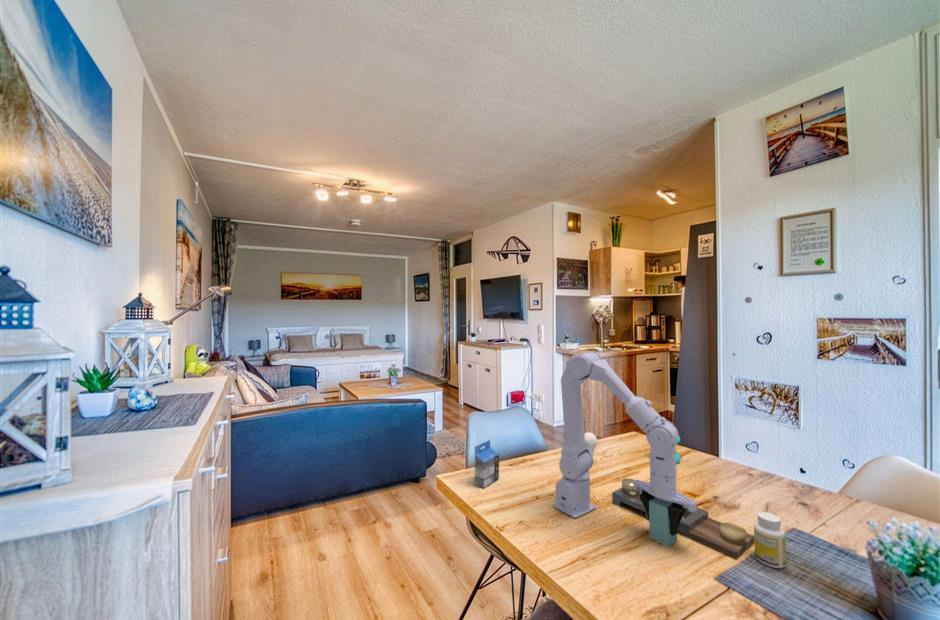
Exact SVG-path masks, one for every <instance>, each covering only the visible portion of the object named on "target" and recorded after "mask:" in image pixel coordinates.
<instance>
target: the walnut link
mask: <svg viewBox="0 0 940 620" xmlns="http://www.w3.org/2000/svg"><path fill="white" fill-rule="evenodd" d="M689 515H691V514H689V513H686V512H685V513H684V515H683V517H682V518H684V519H685V518H686V517H688V516H689ZM645 519H647V520H648V516H647V513H646V512H645ZM677 534H679V535H682V536H683V537H686V538H688V539H691V540H693V541H695V542H697V543H699V544H702V545H703V546H705V547H708V548H710V549H713V550H714V551H717V552H719V553H721V554H723V555H724V556H725V555H726V556H727V557H730V558H732V559H734V560H738V559H739V558H740V557H741V556H742V555H744V553H745V552H747V550H748V549H750V547H751V546H752V545H753V544H754V535H753V534H751V533H748V532H747V531H746V529H745V528H743V527H742V526H740V525H738V524H735V523H732V522H721V521H718V520H715V519H714V518H711V517H708V518H707V519H706V520H704V521H703V522H702V523H700V524H699V525H697V526H696V527H695V528H693V529H692V530H691V531H689V532H688V531H686V530H684V529H682V528H680V527H679V528H678V532H677Z"/></svg>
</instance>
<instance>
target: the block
mask: <svg viewBox="0 0 940 620" xmlns="http://www.w3.org/2000/svg"><path fill="white" fill-rule="evenodd" d="M670 505H672V503H671V502H669V501H666V500H663V499H659V498H657V497H655V498H653V499H651V500H650V501H649V520H648V523H649V524H648V525H649V526H648V531H649V532H648V535H649V536H648V537H649V539H651V540H654V541H655V542H658V543H659V544H662V545H664V546H666V547H667V548H668V547H670V546H672V545H673V544H674V543H675V542H677V541H678V533H677V534H675V535H674V536H673V535H671V534H670V518H669V513H668V509H667V507H668V506H670Z"/></svg>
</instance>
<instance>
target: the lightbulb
mask: <svg viewBox="0 0 940 620" xmlns="http://www.w3.org/2000/svg"><path fill="white" fill-rule="evenodd" d="M584 436H585V441H586V442H587V443H588V445H589V450H590V453H591V455H592V457H593V456H594V452H595V449H596V447H597V445H598V443H599V442H598V438H597V436H596V435H595V434H594V433H593V432H589V431H587V432H584ZM593 458H594V457H593Z"/></svg>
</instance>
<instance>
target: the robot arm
mask: <svg viewBox="0 0 940 620" xmlns="http://www.w3.org/2000/svg"><path fill="white" fill-rule="evenodd" d="M588 379H589V380H592V381H598V382H601V383H603V384H604V385H605V386H606V388H608V389H609V390H610V391H611V392H612V393H613V394H614V395H615V396H616V397H617V398H618V399H619V400H620V401H621V403H623V404H624V408H625V413H626V414H627V415H628V416H629V417H630V418H631V420H632V421H633V422H634V423H635V424H636V425H637V426H638V428H640V430H641V431H642V432H643V433H645V434H646V437H645V438H646V441H647V443H648V444H649V447H650V449H649V466H650V467H649V482H647V481H644V480H640V479H638V478H637V479H634V480H635V481H633V489H635V490H638V489H639V490H641V491H642V494H641V495H639V497H640V500H641V502H642V503H643V505H644V507H645V510H646V512H645V514H646V513H647V516H648V519H647V520H648V521H649V501H650V500H651V499H653V498H655V497H657V498H659V499H663V500H666V501H669V502H671V503H672V505H670V506H668V507H667V509H668V513H669V518H670V534H671V535H673V536H674V535H675V534H677V535H678V533H677V532H678V528H679V524H680V521H681V519H682V518H684V517H683V515H684V513H685V512H686V510H687V509H688V511H690V512H692V513H693V512H695V511H696V510H697V508H698V506H697V505H698V504H697V503H698V502H697V501H696V500H693V499H691V498H689V497H687V496H685V495H684V494H682V493H681V492H679V491H677V463H676V452H677V450H676V449H677V448H676V447H677V446H676V445H677V444H675V445H673V444H674V443H675V442H676V441H677V439H678V435H679V431H678V428H677V427H676V426H675V424H674V423H673V422H671V421H669V420H667V419H666V417H664V416H661V415H660V413H659V412H658V411H656V410H655V408H653V407H652V406H651V405H652V404H653V403H652V402H651V401H650V400H649V399H645V398H643V397H640V396H636V395H635V394H634V393H633V392H632V391H631V390H630V388H629V387H628V386H627V384H625V383H624V381H623V380H622V379H621V378H620V377H619V376H618V374H617V373H616V372H615V371H614V369H612V367H611V366H610V364H609V363H608V361H607V360H606V359H604V358H602V355H600V354H599V353H598V352H595V351H588V352H584V353H576V354H572V356H571V357H570V358H569V359H567V360H566V361H565V368H564V370H563V372H562V375H561V377H560V387H561V401H562V413H563V425H564V426H563V428H564V440H565V441H564V444H563V446H562V448H561V453H560V455H561V456H560V459H559V463H558V466H559V470H560V472H561V474H562V477H561V478H560V479H559V480H558V481H557V482H556V484H555V503H554V504H552V506H553V507H554V508H556V509H557V510H559V511H561V512H562V513H564V514H566V515H568V516H569V517H572V518H573V519H577V518H580V517H581V516H583V515H585V514H587V513H590V512H591V511H593V510H595V509H597V506H596V505H595V504H593V503H590V502H591V501H590V499H591V498H590V497H591V496H590V495H591V493H590V492H591V488H590V487H591V485H590V483H591V482H590V480H591V478H590V477H591V476H590V469H591V468H592V467H593V465H594V457H592V455H591V453H590V450H589V445H588V443H587V442H586V441H585V436H584V433H585V425H584V424H585V423H584V412H583V403H582V402H583V401H582V389H581V385H582V384H583V383H584V382H586V380H588Z"/></svg>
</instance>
